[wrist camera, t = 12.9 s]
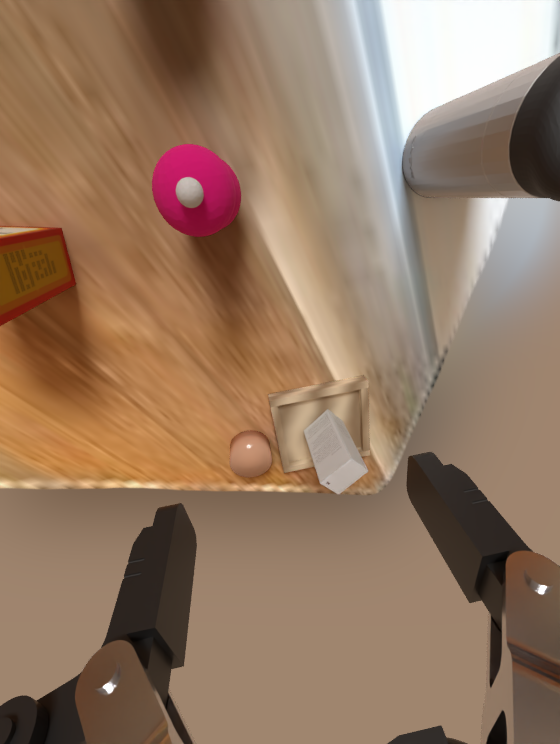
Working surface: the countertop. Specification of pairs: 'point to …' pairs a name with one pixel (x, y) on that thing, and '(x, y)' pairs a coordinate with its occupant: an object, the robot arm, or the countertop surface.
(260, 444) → the tan rounded blob
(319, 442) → the skincare box
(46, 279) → the baking soda box
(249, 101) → the countertop surface
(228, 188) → the pepper mill
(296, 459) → the maple tray
